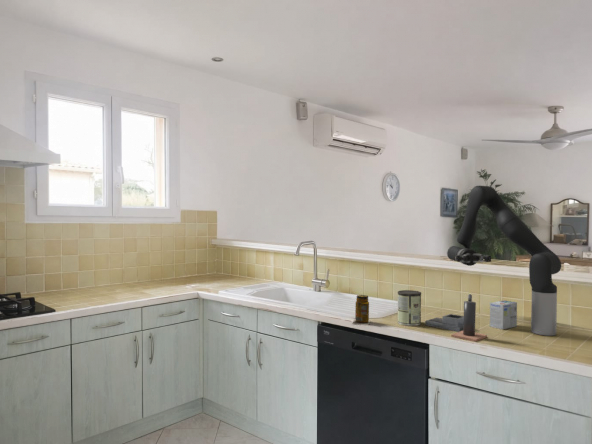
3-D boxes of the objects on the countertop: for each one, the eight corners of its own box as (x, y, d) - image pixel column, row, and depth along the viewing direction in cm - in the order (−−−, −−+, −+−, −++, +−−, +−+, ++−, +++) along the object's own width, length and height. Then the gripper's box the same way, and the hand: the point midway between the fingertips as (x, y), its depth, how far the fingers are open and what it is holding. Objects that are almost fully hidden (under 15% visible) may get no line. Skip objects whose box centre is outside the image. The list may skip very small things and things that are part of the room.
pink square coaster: (463, 332, 189) (463, 330, 189) (487, 337, 182) (487, 335, 182) (451, 336, 183) (451, 334, 183) (475, 341, 175) (475, 339, 175)
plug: (466, 332, 186) (467, 292, 185) (476, 334, 182) (477, 294, 182) (461, 334, 182) (462, 294, 182) (471, 336, 179) (473, 295, 179)
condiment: (370, 321, 209) (370, 294, 209) (368, 325, 200) (369, 298, 200) (354, 320, 210) (354, 294, 210) (352, 324, 202) (352, 297, 202)
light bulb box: (503, 323, 206) (503, 299, 206) (517, 326, 200) (517, 302, 200) (488, 326, 200) (489, 302, 200) (503, 329, 194) (503, 304, 194)
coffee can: (404, 319, 212) (404, 289, 212) (424, 323, 205) (425, 291, 205) (392, 323, 204) (393, 291, 204) (413, 327, 198) (414, 294, 197)
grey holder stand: (436, 321, 208) (437, 310, 208) (470, 328, 196) (471, 316, 196) (425, 325, 201) (425, 313, 201) (459, 332, 190) (459, 320, 189)
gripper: (451, 248, 210) (460, 250, 194) (483, 248, 209) (494, 250, 192) (451, 264, 210) (460, 268, 194) (483, 265, 209) (495, 268, 192)
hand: (477, 259), depth 193 cm, fingers open, 8 cm apart
